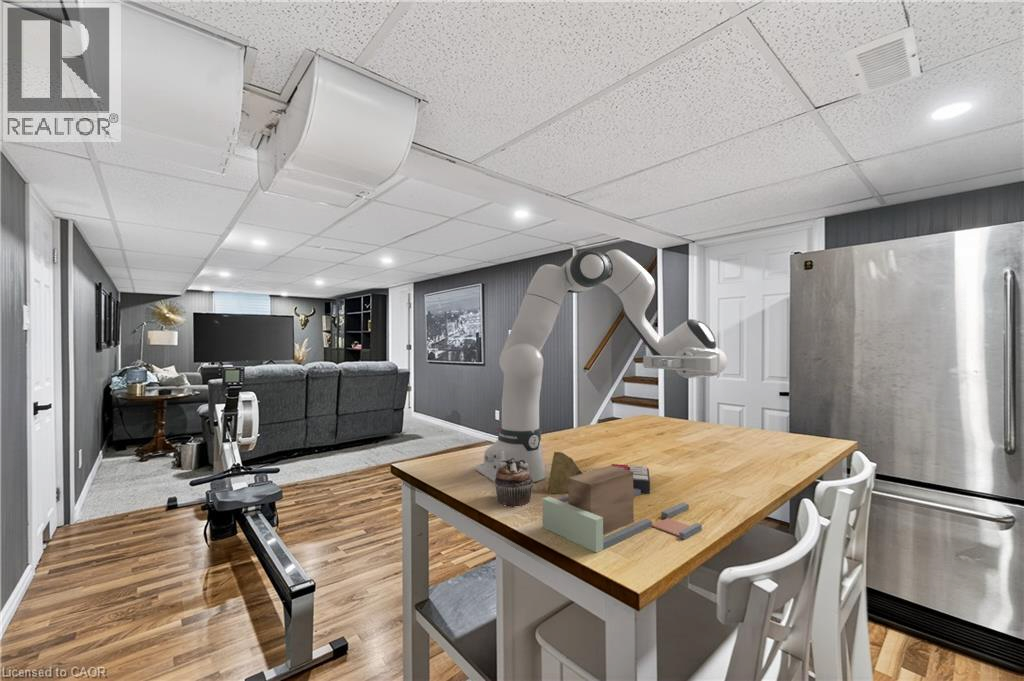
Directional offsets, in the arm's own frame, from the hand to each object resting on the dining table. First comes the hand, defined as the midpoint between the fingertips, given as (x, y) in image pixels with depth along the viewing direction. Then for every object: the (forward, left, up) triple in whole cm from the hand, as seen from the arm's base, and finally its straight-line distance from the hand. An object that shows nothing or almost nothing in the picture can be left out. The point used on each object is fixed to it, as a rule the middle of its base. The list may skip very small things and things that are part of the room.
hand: (663, 363), depth 115 cm
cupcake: (-19, -37, -34) cm, 53 cm away
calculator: (-9, -4, -34) cm, 35 cm away
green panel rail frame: (+4, -25, -33) cm, 42 cm away
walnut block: (+5, -32, -34) cm, 46 cm away
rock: (-16, -21, -34) cm, 43 cm away
